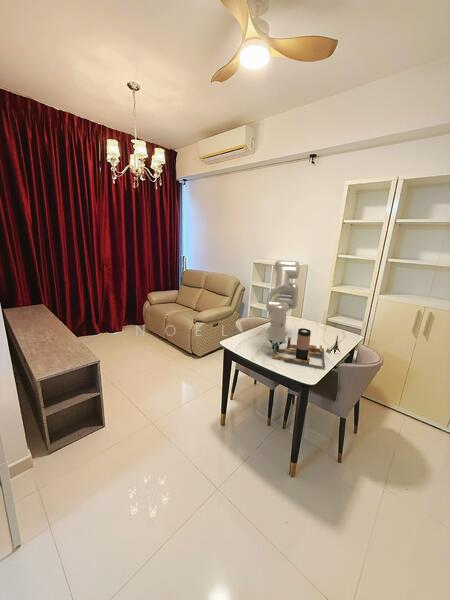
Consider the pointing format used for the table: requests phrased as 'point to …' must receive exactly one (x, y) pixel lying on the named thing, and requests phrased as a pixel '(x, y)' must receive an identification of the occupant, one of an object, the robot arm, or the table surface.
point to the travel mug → (303, 344)
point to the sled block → (310, 352)
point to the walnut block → (312, 348)
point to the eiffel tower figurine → (334, 347)
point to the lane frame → (310, 364)
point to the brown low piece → (288, 353)
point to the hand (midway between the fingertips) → (275, 350)
